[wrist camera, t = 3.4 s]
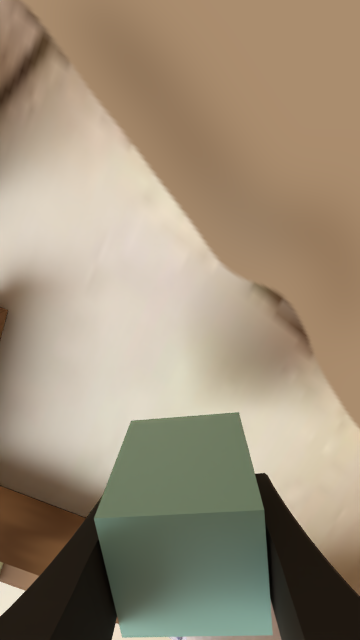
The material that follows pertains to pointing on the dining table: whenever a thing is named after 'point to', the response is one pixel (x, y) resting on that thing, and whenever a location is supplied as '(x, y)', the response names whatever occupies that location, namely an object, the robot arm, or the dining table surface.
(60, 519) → the corner arena
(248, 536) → the teal cube
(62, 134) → the dining table surface
